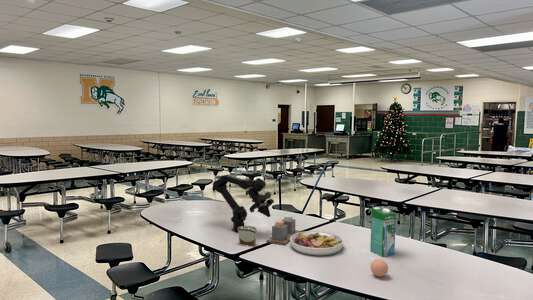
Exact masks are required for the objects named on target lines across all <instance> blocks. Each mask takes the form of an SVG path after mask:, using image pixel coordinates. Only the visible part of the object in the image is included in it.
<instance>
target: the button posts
mask: <svg viewBox="0 0 533 300" xmlns="http://www.w3.org/2000/svg"><path fill="white" fill-rule="evenodd" d="M280 221H284V218H283V219H281V220H280ZM295 230H296V219H295V218H292V221H284V226H283V227H276V223H275V224H274V225H271V237H272V240H277V241H284V240H285V239H287V234H290V235H292V234H293V233H294V232H295Z"/></svg>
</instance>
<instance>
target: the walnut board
mask: <svg viewBox="0 0 533 300" xmlns="http://www.w3.org/2000/svg"><path fill="white" fill-rule="evenodd" d="M300 232H301V230H297V229H295V232H294V233H293V234H292V235H294V234H296V233H300ZM292 235H290V234H287V239H285V240H284V241H277V240H272V236H271V237H269V238H267V239H266V241H265V242H266V243H267V242H269V243H268V244H273V245H280V246H287V244H289V243H290V237H291V236H292Z"/></svg>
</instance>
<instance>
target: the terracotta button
mask: <svg viewBox="0 0 533 300" xmlns="http://www.w3.org/2000/svg"><path fill="white" fill-rule="evenodd" d="M275 224H276V227H283V226H284V221H281V220H277V221H275Z"/></svg>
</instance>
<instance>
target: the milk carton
mask: <svg viewBox="0 0 533 300" xmlns="http://www.w3.org/2000/svg"><path fill="white" fill-rule="evenodd" d="M370 217H371V219H370V220H371V222H370V224H371V225H370V248H369V249H370V252H371V253H373V254H375V255H377V256H379V257H381V258H384V257H387V256H388V257H389V256H392V255H395V251H396V250H395V249H396V248H395V247H396V243H395V242H396V221H397V220H396V219H397V214H396V212H394V211H393V210H391V209H390V208H388V207H386V206H385V205H380V206H374V207H371V216H370Z"/></svg>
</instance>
